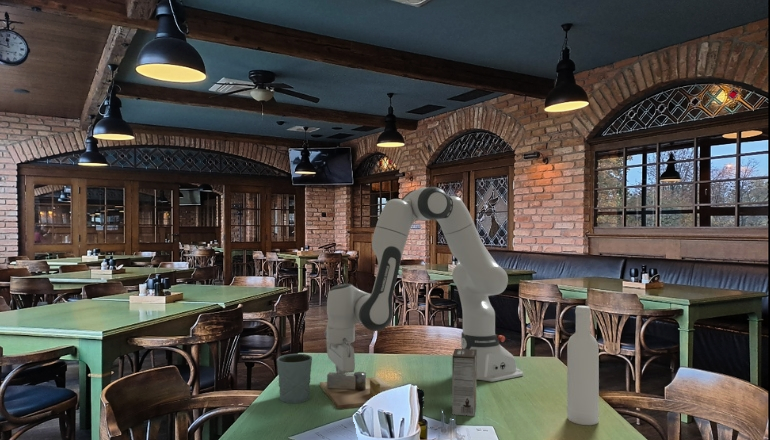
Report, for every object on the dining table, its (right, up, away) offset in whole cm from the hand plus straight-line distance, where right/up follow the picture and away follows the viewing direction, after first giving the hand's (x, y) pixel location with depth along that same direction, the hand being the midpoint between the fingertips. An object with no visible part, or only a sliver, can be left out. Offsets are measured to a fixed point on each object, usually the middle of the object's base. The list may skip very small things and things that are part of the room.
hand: (340, 379), depth 164 cm
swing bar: (+2, -1, -4) cm, 5 cm away
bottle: (+66, -3, -26) cm, 72 cm away
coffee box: (+36, -3, -19) cm, 41 cm away
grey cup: (-13, -3, -11) cm, 17 cm away
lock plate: (+6, -3, -5) cm, 8 cm away
